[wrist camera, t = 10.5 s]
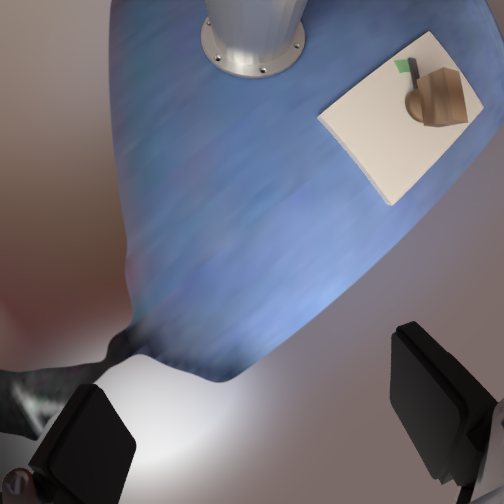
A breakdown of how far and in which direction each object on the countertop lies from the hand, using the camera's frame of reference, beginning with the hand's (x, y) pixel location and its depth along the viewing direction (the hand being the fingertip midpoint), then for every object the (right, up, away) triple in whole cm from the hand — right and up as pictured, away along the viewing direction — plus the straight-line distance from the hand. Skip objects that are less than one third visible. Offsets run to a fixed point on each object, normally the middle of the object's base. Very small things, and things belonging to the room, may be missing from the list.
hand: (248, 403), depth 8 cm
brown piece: (+21, +25, +22) cm, 39 cm away
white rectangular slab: (+21, +23, +24) cm, 40 cm away
